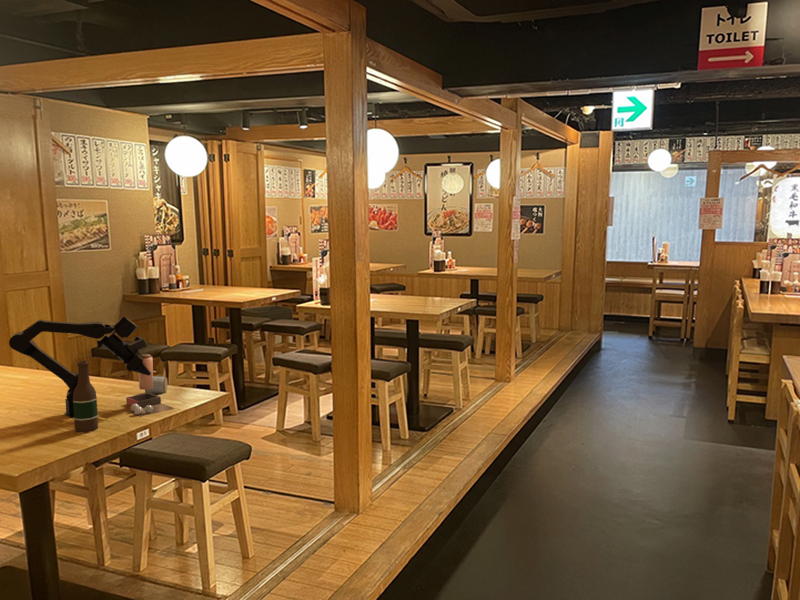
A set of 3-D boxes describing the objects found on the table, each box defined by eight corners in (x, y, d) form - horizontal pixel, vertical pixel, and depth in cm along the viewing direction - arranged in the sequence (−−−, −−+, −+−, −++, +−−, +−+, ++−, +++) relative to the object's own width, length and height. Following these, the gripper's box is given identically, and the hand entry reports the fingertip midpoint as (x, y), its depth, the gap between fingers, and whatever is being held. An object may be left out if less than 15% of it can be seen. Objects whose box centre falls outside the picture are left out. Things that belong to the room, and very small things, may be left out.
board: (140, 418, 229) (139, 416, 229) (126, 413, 236) (126, 411, 236) (175, 410, 240) (175, 408, 240) (161, 405, 246) (161, 403, 246)
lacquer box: (138, 410, 239) (137, 401, 238) (126, 406, 245) (126, 397, 244) (160, 405, 246) (160, 396, 245) (149, 401, 252) (148, 392, 251)
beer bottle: (92, 424, 223) (89, 358, 220) (103, 429, 218) (99, 361, 215) (69, 429, 217) (65, 361, 214) (80, 434, 212) (76, 365, 209)
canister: (145, 390, 240) (145, 356, 239) (136, 388, 242) (135, 355, 241) (156, 387, 245) (155, 354, 243) (146, 385, 247) (146, 353, 245)
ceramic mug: (165, 395, 260) (165, 377, 259) (144, 396, 258) (144, 378, 257) (169, 389, 270) (168, 372, 269) (149, 390, 268) (148, 372, 268)
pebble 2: (136, 416, 230) (136, 408, 229) (132, 414, 232) (132, 406, 231) (144, 414, 232) (144, 406, 232) (140, 412, 234) (140, 404, 234)
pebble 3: (147, 414, 232) (146, 406, 231) (143, 413, 234) (142, 405, 233) (154, 412, 234) (154, 405, 234) (150, 411, 236) (150, 403, 236)
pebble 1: (133, 413, 233) (132, 405, 233) (129, 411, 235) (129, 403, 235) (141, 411, 236) (140, 403, 235) (137, 409, 238) (136, 402, 237)
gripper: (135, 335, 231) (167, 362, 237) (132, 327, 248) (162, 353, 254) (112, 357, 228) (145, 384, 234) (111, 348, 245) (142, 373, 251)
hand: (149, 373), depth 243 cm, fingers closed on canister, 5 cm apart
